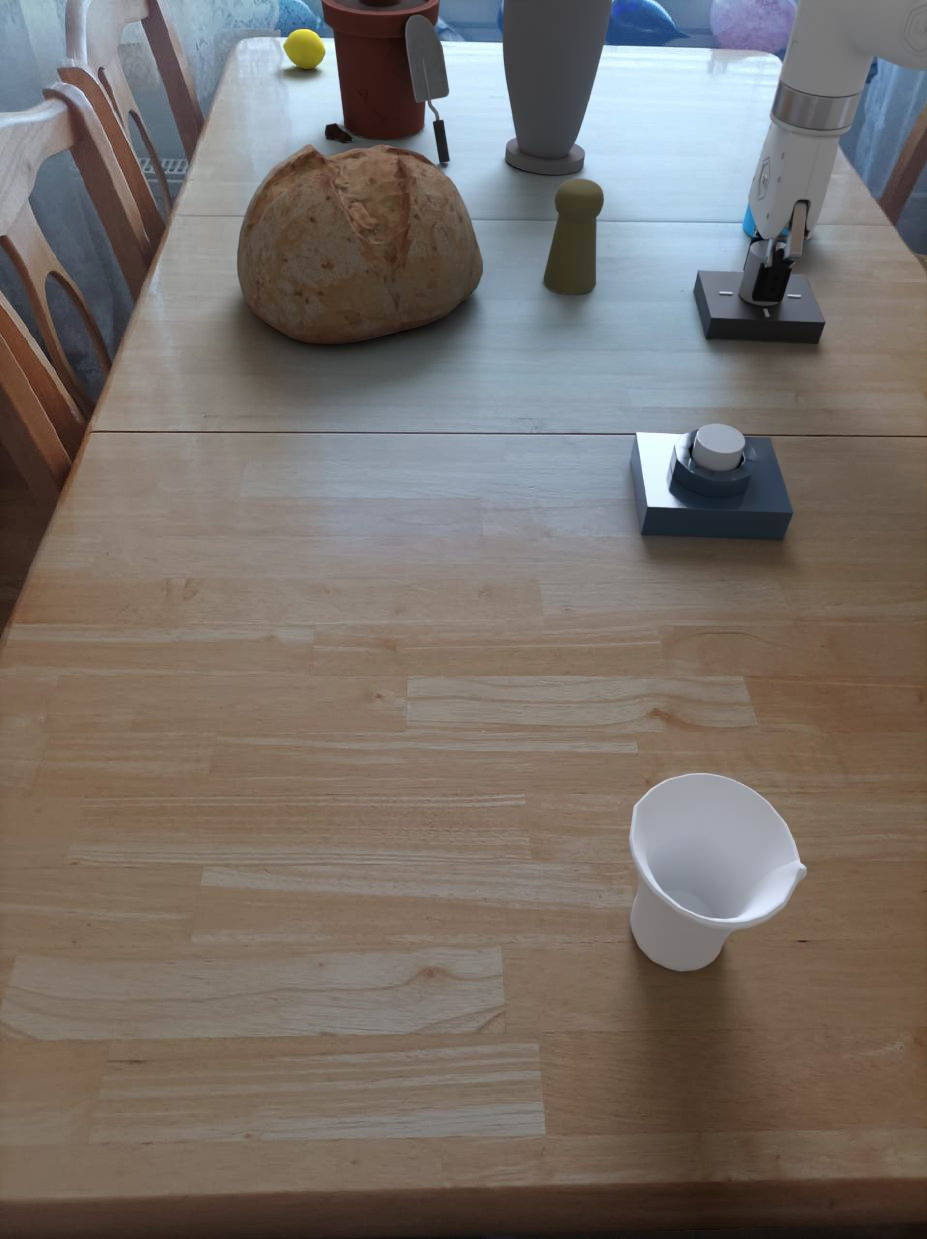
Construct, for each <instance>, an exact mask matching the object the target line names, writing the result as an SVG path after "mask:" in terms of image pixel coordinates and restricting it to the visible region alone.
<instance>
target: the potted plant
mask: <svg viewBox="0 0 927 1239" xmlns="http://www.w3.org/2000/svg"><path fill="white" fill-rule="evenodd" d="M320 1H321V7H322V15H323V21H324V23H325V25H327V26H328V27H329V28H330V29H332V34H333V43H334V50H335V59H336V68H337V77H338V82H339V92H340V100H341V108H342V117H343V124H344V128H345V129H346V130H347V131H348V132H349V133H350V134H352V135H355V136H358V137H362V138H366V139H370V140H378V141H379V140H380V141H388V140H399V139H405V138H406V139H407V138H409V137H412V136H415V135H417V134H419V133H420V132H422V130H423V129H424V127H425V122H426V103H427V105H428V108H429V109H430V110H431V112H432V113H433V114H434V116H435V120H433V121H432V126H433V134H434V139H435V146H436V151H437V157H438V163H439V164H444V163H449V162H450V161H451V159H450V153H449V145H448V141H447V140H448V138H447V132H446V126H445V121H444V119H441V118H440V114H439V112H438V110H437V109H436V108H435V106H434V105H433V103H432V101H433V100H438V99H443V98H447V97H448V96H449V95H450V86H449V79H448V72H447V67H446V60H445V54H444V48H443V47H444V46H443V44H442V42H441V39H440V37H439V35H438V32H437V31H436V29H435V27H436V25H437V24H438V21H439V15H440V14H439V13H440V3H441V0H320ZM346 130H345V131H344V130H343V129H342V128H341V127H340V126H339V125H338V123H336V122H335V123H329V124H326V125H325V129H324V135H325V138H326V139H327V140H336V141H337V142H338V141H339V142H340V143H342V144H346V143H351V142H354V140H353V136H351V135H350V134H349V133H348V132H347V131H346Z"/></svg>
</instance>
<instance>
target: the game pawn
mask: <svg viewBox="0 0 927 1239" xmlns="http://www.w3.org/2000/svg"><path fill="white" fill-rule="evenodd" d="M604 202H605V195H604V191H603V188H602V186H600V185H599V184H598V183H597V182H595V181H593V180H591V179H587V178H582V177H581V178H580V177H579V178H578V177H576V178H571V179H567V180H565V181H563V182H561V184H560V185H559V186H558V188H557V190H556V192H555V195H554V206H555V210H556V212H557V214H558V215H557V219H556V224H555V227H554V231H553V236H552V239H551V244H550V247H549V248H550V249H549V253H548V257H547V260H546V265H545V269H544V273H543V278H542V280H543V284H544V285H545V287H546V288H548V289H549V290H551V291H553V292H555V293H558V294H563V295H570V296H571V295H572V296H577V295H583V294H586V293H589V292H592V290H594V289H595V287H596V285H597V217H598V216H600V214H601V212H602V209H603V207H604Z"/></svg>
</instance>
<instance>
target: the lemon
mask: <svg viewBox="0 0 927 1239" xmlns="http://www.w3.org/2000/svg"><path fill="white" fill-rule="evenodd" d="M324 44H325V43H324V42H323V40H322V38H321V37H320V36H319V34H318V33H317V32H315V31H313V30H311V29H308V28H299V29H296V30H295V31H292V32H291V33H290V34H289V35H288V37H287V38H286V40H285V41H284V42H283V45H282V48H283V50H284V52H285V54H286V56H287V57H288V59H289V60H290V62H291V63H292V64H294V65H295V66H296V67H298V68H300V69H305V70H311V69H314V68H316V67H317V66H319V65H320V64H321V63H322V61H323V60H324V58H325V55H326V47H325V45H324Z"/></svg>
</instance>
